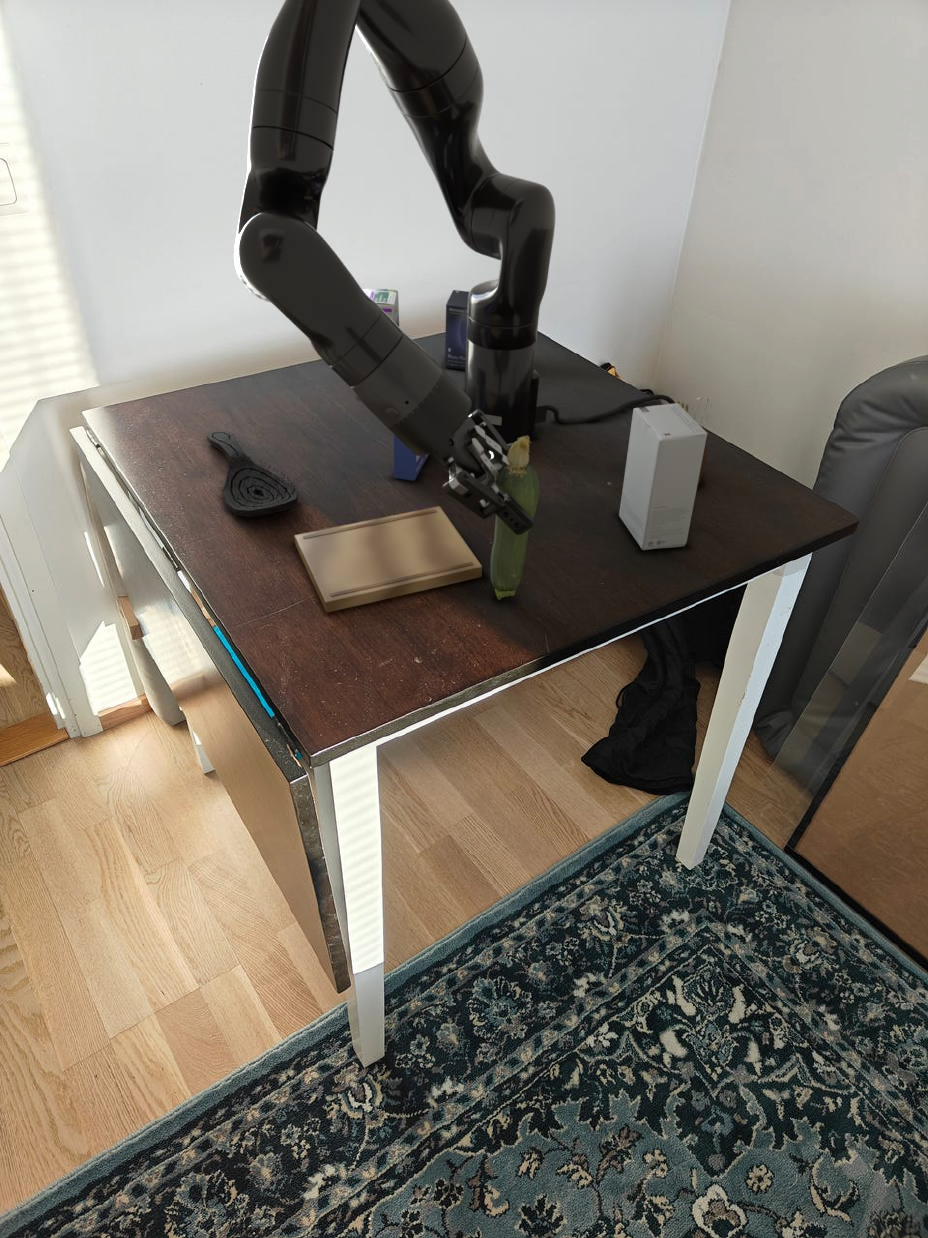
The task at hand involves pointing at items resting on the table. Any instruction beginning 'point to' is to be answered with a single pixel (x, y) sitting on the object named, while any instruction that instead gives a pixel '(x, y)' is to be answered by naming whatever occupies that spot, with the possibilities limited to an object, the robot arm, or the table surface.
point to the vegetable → (507, 543)
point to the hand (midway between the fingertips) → (528, 514)
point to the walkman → (406, 461)
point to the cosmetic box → (661, 475)
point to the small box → (456, 330)
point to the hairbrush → (251, 481)
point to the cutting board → (385, 558)
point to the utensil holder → (706, 438)
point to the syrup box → (386, 301)
